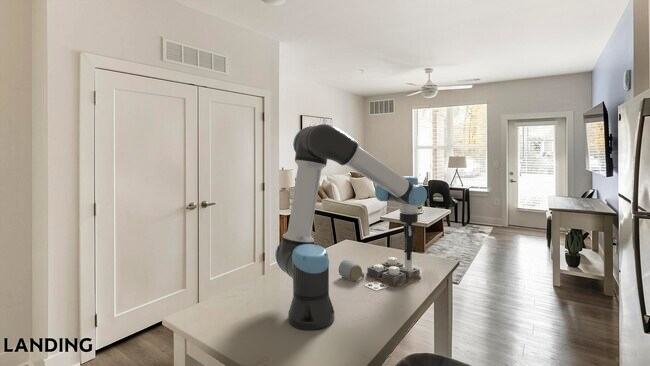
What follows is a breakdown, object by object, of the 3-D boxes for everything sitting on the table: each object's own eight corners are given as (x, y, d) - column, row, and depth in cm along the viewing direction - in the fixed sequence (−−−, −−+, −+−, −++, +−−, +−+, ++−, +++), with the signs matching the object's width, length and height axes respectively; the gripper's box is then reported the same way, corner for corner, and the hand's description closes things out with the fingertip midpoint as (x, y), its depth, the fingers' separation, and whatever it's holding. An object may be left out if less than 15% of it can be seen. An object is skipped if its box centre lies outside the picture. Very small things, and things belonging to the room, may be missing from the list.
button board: (395, 287, 134) (395, 278, 133) (366, 275, 147) (366, 267, 147) (420, 278, 143) (420, 269, 143) (390, 268, 157) (391, 259, 157)
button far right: (408, 277, 141) (408, 269, 141) (400, 274, 145) (400, 266, 144) (415, 274, 144) (415, 267, 144) (407, 272, 147) (407, 264, 147)
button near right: (394, 278, 136) (394, 270, 135) (386, 275, 139) (386, 267, 139) (401, 276, 138) (401, 268, 138) (393, 273, 142) (393, 265, 142)
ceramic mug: (350, 283, 139) (350, 265, 138) (338, 278, 145) (338, 260, 145) (368, 278, 145) (369, 261, 144) (356, 273, 151) (356, 256, 151)
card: (376, 291, 131) (376, 289, 131) (363, 285, 136) (363, 284, 136) (388, 286, 135) (388, 285, 135) (376, 281, 140) (376, 280, 140)
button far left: (392, 268, 148) (392, 260, 148) (385, 265, 152) (385, 258, 151) (399, 266, 151) (399, 258, 151) (392, 263, 154) (392, 256, 154)
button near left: (378, 276, 143) (378, 268, 143) (371, 273, 147) (371, 265, 146) (385, 273, 146) (385, 266, 145) (378, 271, 149) (378, 263, 149)
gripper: (419, 215, 135) (419, 271, 137) (415, 210, 148) (415, 261, 150) (400, 215, 136) (400, 271, 138) (398, 209, 149) (398, 261, 151)
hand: (408, 266), depth 144 cm, fingers closed
